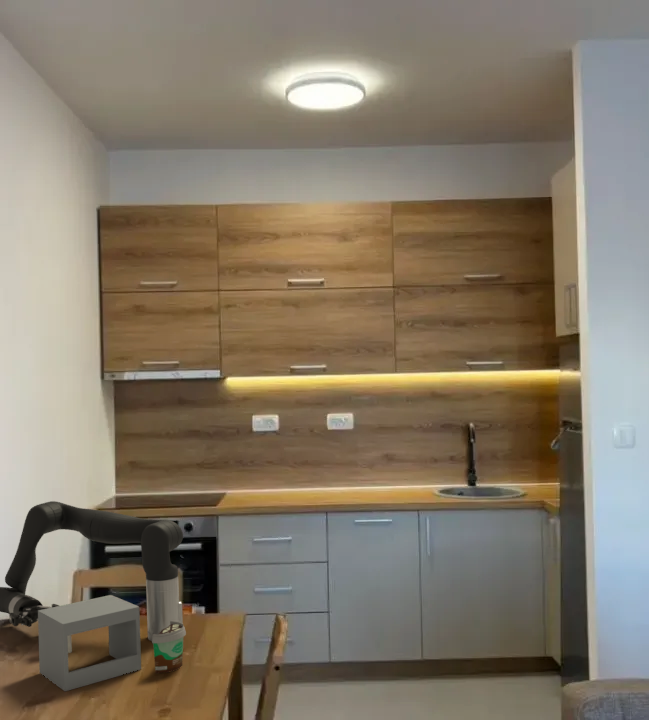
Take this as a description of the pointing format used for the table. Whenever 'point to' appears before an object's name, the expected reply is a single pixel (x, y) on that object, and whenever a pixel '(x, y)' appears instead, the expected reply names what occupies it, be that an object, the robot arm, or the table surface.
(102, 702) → the table surface
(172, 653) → the food container
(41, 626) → the open box frame
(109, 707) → the table surface
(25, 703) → the table surface
